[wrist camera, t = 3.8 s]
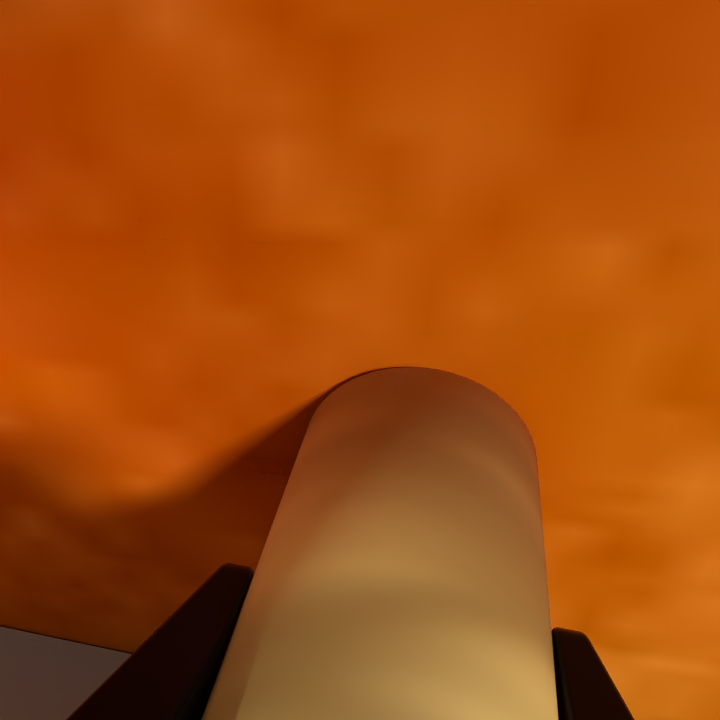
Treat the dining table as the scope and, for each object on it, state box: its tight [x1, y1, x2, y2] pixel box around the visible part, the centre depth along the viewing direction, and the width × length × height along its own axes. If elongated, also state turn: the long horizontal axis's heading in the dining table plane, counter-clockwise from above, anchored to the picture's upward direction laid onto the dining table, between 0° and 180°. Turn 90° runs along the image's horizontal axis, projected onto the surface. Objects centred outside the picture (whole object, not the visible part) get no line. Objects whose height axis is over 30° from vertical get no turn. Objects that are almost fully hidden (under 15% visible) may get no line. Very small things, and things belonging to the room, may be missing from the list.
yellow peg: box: [201, 367, 559, 720], centre depth 8 cm, size 4×4×8 cm
